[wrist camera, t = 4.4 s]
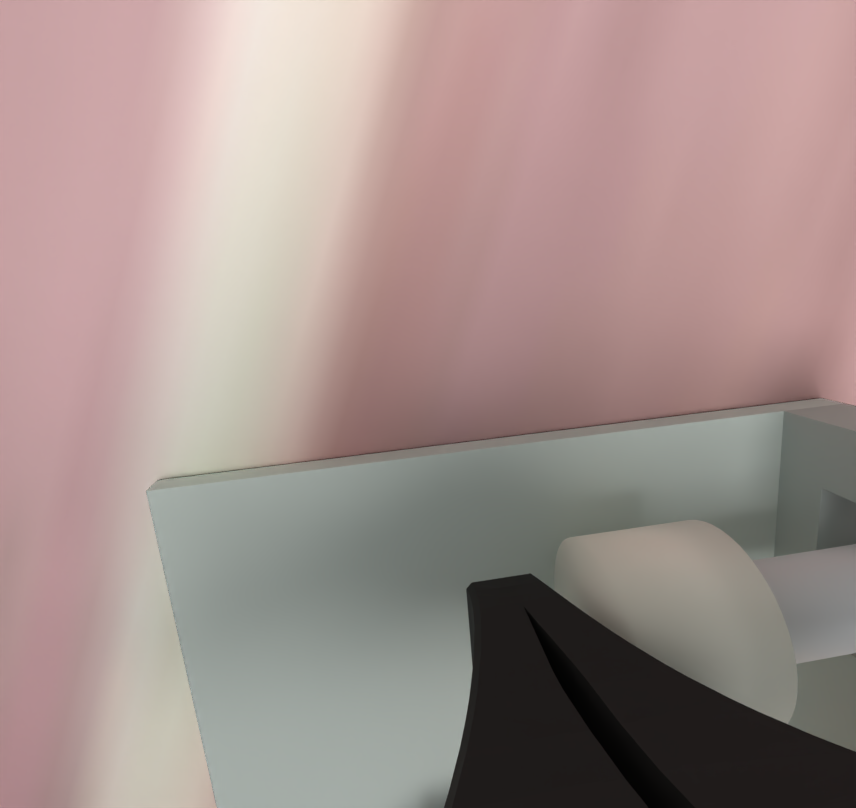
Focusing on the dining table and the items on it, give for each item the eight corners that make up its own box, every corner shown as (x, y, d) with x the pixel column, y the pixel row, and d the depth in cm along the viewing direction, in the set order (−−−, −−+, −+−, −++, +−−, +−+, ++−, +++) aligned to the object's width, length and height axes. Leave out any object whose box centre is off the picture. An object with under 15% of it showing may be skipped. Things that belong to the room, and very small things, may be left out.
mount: (262, 961, 14) (200, 1394, 8) (157, 480, 11) (-47, 671, 5) (784, 845, 15) (1012, 1142, 10) (822, 398, 12) (1180, 480, 7)
